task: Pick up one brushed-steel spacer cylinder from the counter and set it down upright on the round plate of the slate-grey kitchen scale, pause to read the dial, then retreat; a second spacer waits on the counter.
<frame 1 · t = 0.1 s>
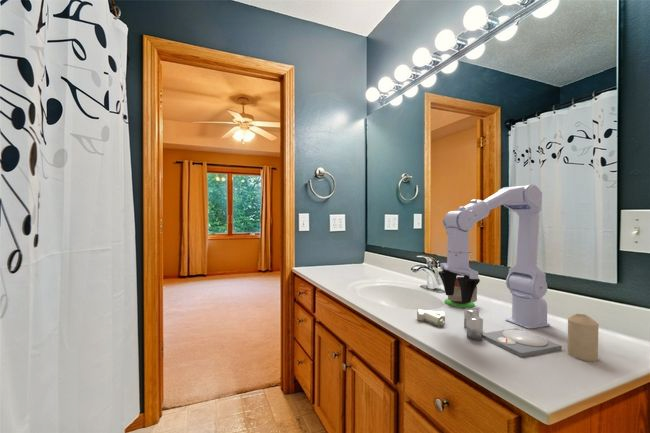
hand: (457, 298, 82), 10 cm above the worktop, fingers open, 7 cm apart
scale: (518, 343, 76), on the worktop
spacer b: (474, 338, 79), on the worktop
pipe fitting: (431, 324, 90), on the worktop
candle: (582, 357, 69), on the worktop
spacer a: (471, 328, 86), on the worktop
multicoloured stacked round part: (458, 304, 111), on the worktop
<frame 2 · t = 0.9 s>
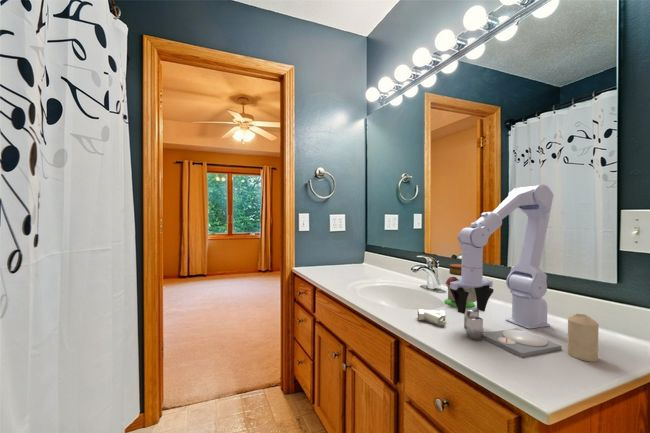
hand: (471, 311, 86), 5 cm above the worktop, fingers open, 7 cm apart
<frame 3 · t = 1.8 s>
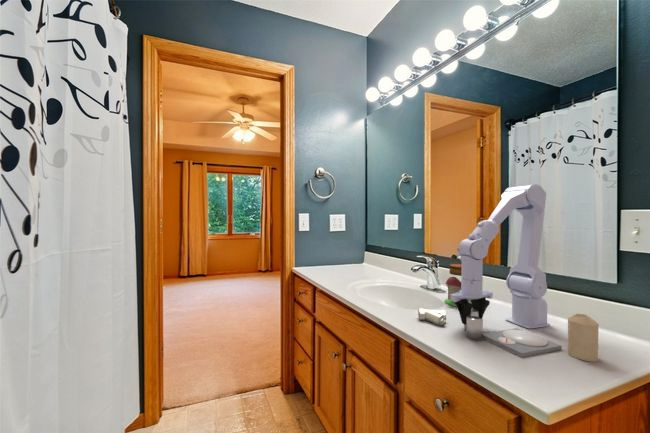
hand: (471, 323, 86), 1 cm above the worktop, fingers closed on spacer a, 4 cm apart
spacer a: (471, 328, 86), on the worktop, touching gripper
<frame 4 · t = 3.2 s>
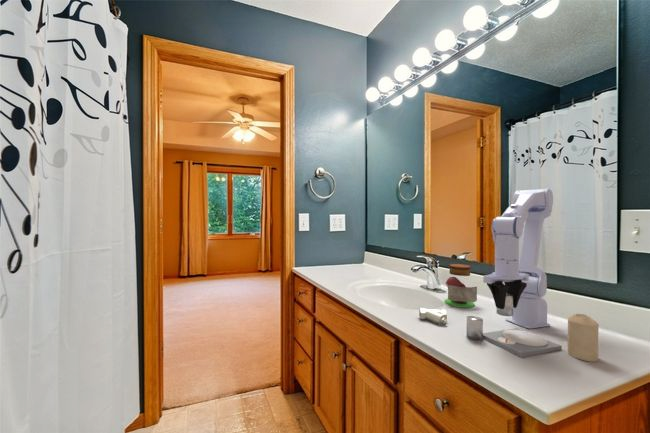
hand: (506, 307, 80), 8 cm above the worktop, fingers closed on spacer a, 4 cm apart
spacer a: (504, 314, 80), point 6 cm above the worktop, touching gripper
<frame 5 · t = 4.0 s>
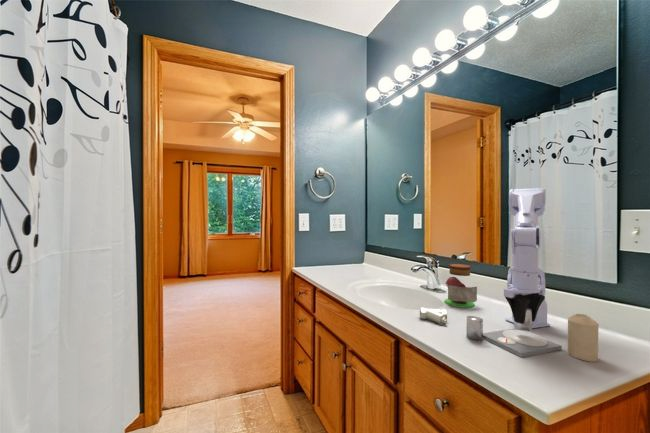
hand: (524, 321, 77), 6 cm above the worktop, fingers closed on spacer a, 4 cm apart
spacer a: (522, 328, 77), point 4 cm above the worktop, touching gripper
when the fingers open (4 cm above the worktop, at t = 4.7 s): spacer a stays where it is, resting on scale.
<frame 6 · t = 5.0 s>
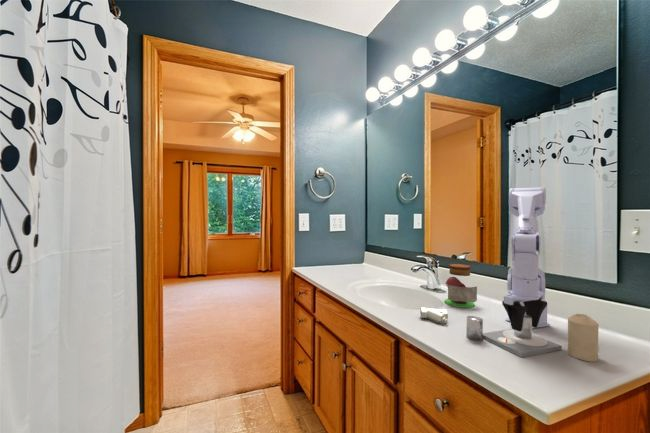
hand: (524, 328, 77), 4 cm above the worktop, fingers open, 6 cm apart
spacer a: (522, 336, 77), point 1 cm above the worktop, touching scale
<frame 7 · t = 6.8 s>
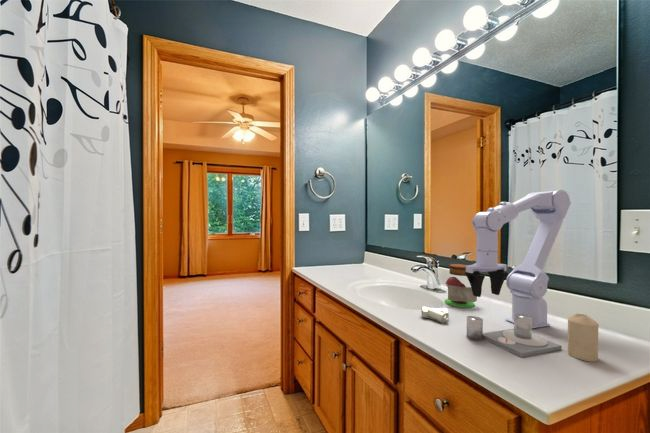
hand: (486, 295, 87), 10 cm above the worktop, fingers open, 7 cm apart
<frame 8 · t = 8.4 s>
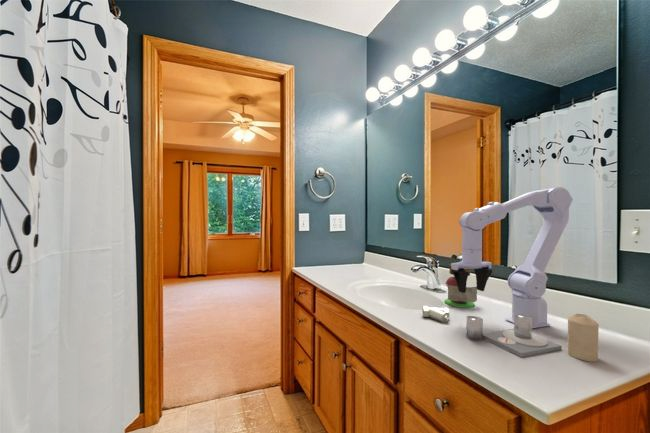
hand: (471, 291, 91), 10 cm above the worktop, fingers open, 7 cm apart
at the end: spacer a inside the target area on the scale (0.4 cm from its centre), point 1.4 cm above the scale's base; spacer a tilted 0°; the gripper is holding nothing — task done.
